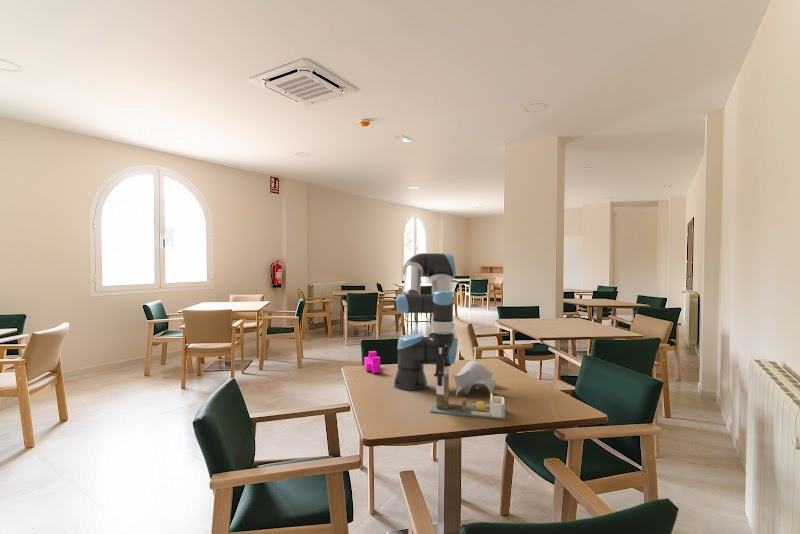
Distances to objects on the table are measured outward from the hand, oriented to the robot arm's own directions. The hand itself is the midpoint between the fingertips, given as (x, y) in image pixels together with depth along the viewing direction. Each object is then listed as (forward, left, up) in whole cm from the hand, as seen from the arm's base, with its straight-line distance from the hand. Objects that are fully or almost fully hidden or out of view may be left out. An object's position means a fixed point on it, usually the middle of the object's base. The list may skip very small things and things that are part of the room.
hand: (442, 388), depth 150 cm
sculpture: (+10, +29, -9) cm, 31 cm away
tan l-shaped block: (0, 0, -8) cm, 8 cm away
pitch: (+9, 0, -8) cm, 12 cm away
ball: (+14, 0, -6) cm, 15 cm away
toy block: (-44, +47, -8) cm, 65 cm away
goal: (+20, 0, -7) cm, 21 cm away
